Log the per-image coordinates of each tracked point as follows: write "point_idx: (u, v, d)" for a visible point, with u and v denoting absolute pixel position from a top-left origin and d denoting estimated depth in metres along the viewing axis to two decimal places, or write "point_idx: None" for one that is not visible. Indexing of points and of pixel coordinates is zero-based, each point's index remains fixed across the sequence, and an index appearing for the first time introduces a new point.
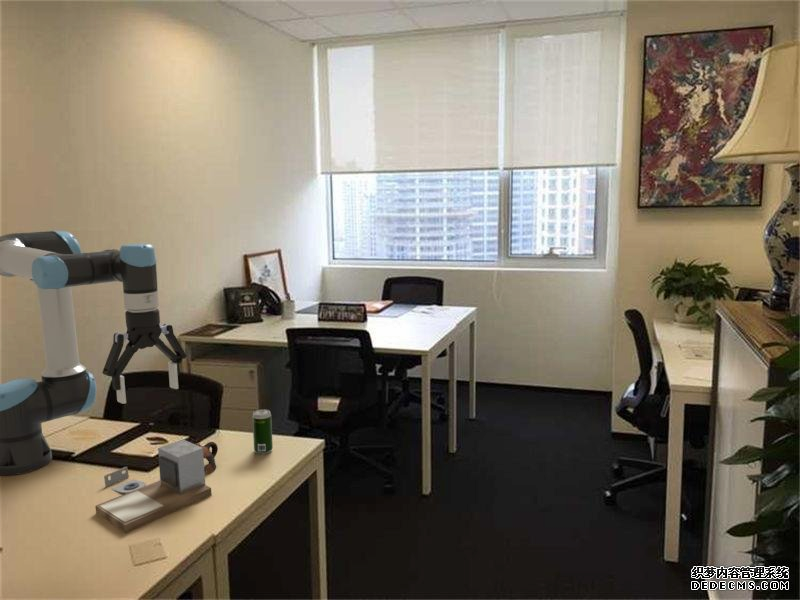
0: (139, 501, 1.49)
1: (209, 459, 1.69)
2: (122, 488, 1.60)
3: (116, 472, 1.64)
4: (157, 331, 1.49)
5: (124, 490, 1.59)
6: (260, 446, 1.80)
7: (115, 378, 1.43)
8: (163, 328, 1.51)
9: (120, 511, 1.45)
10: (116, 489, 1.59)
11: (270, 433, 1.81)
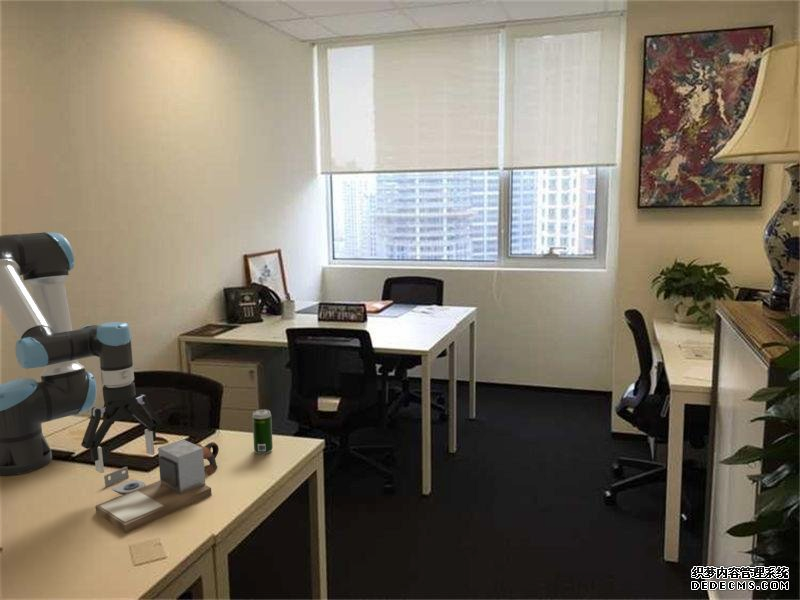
0: (139, 501, 1.49)
1: (210, 460, 1.69)
2: (122, 488, 1.60)
3: (116, 472, 1.64)
4: (133, 403, 1.60)
5: (124, 490, 1.59)
6: (260, 446, 1.80)
7: (93, 450, 1.53)
8: (139, 399, 1.61)
9: (120, 511, 1.45)
10: (116, 489, 1.59)
11: (270, 433, 1.81)
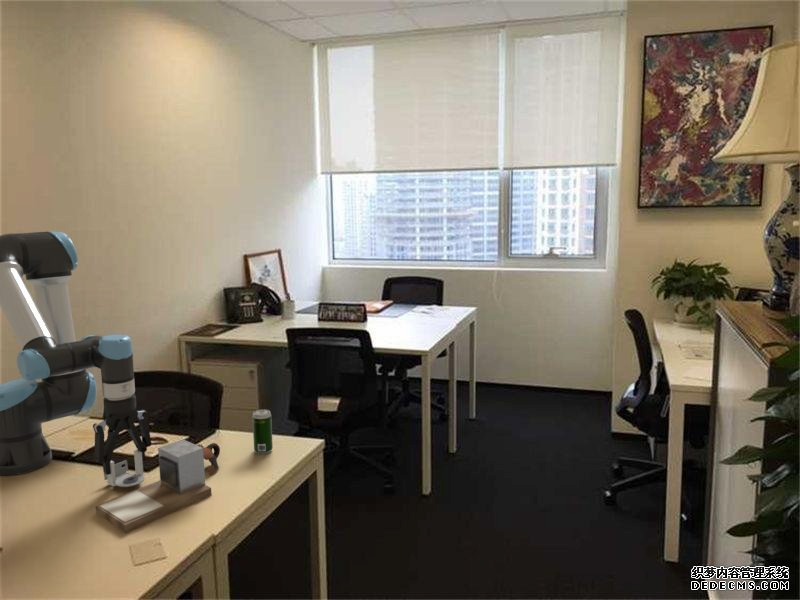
0: (139, 501, 1.49)
1: (212, 460, 1.68)
2: (121, 482, 1.60)
3: (115, 465, 1.64)
4: (133, 414, 1.60)
5: (123, 483, 1.59)
6: (260, 446, 1.80)
7: (106, 464, 1.57)
8: (139, 413, 1.62)
9: (120, 511, 1.45)
10: None
11: (270, 433, 1.81)
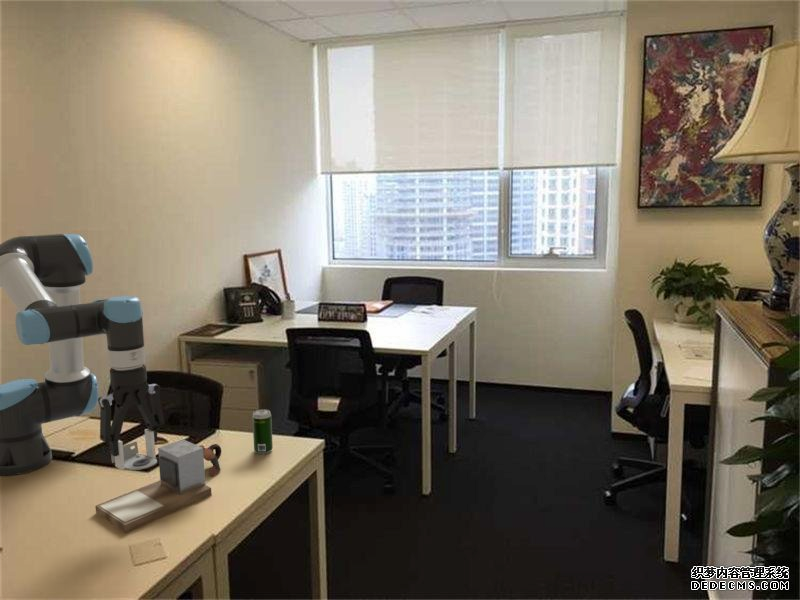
0: (139, 501, 1.49)
1: (213, 461, 1.68)
2: (131, 465, 1.41)
3: (124, 447, 1.44)
4: (144, 387, 1.41)
5: (133, 466, 1.40)
6: (260, 446, 1.80)
7: (113, 444, 1.37)
8: (151, 387, 1.43)
9: (120, 511, 1.45)
10: None
11: (270, 433, 1.81)
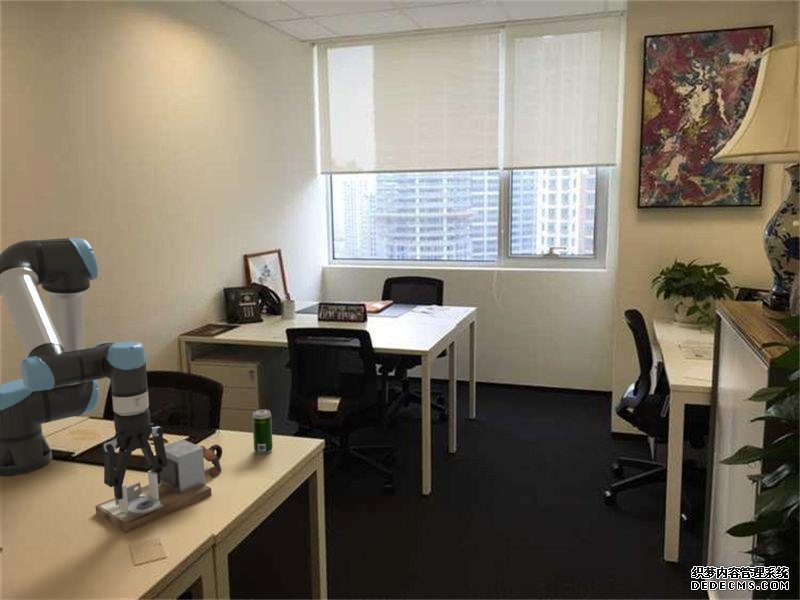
0: None
1: (214, 462, 1.67)
2: (134, 507, 1.43)
3: (128, 489, 1.46)
4: (147, 431, 1.43)
5: (136, 509, 1.41)
6: (260, 446, 1.80)
7: (117, 488, 1.39)
8: (154, 429, 1.45)
9: (120, 511, 1.45)
10: (128, 508, 1.42)
11: (270, 433, 1.81)
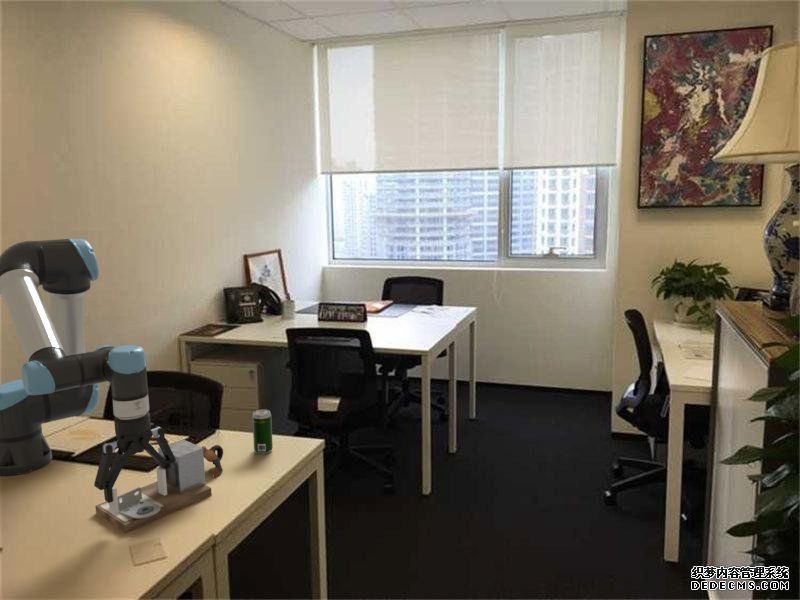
0: None
1: (216, 463, 1.67)
2: (135, 512, 1.43)
3: (128, 493, 1.47)
4: (148, 435, 1.43)
5: (137, 514, 1.42)
6: (260, 446, 1.80)
7: (107, 490, 1.37)
8: (154, 431, 1.45)
9: None
10: (128, 513, 1.42)
11: (270, 433, 1.81)
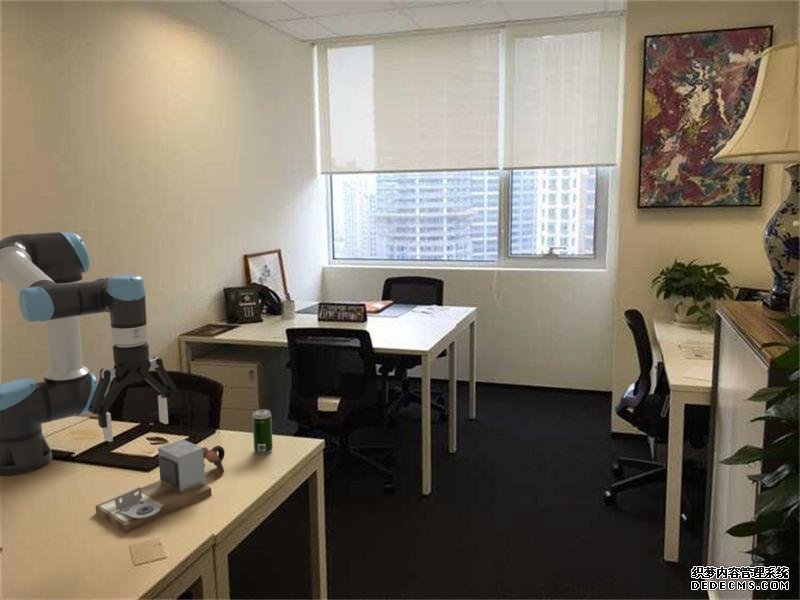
0: None
1: (217, 463, 1.66)
2: (135, 512, 1.43)
3: (128, 493, 1.47)
4: (146, 365, 1.44)
5: (137, 514, 1.42)
6: (260, 446, 1.80)
7: (101, 416, 1.37)
8: (152, 362, 1.45)
9: None
10: (128, 513, 1.42)
11: (270, 433, 1.81)
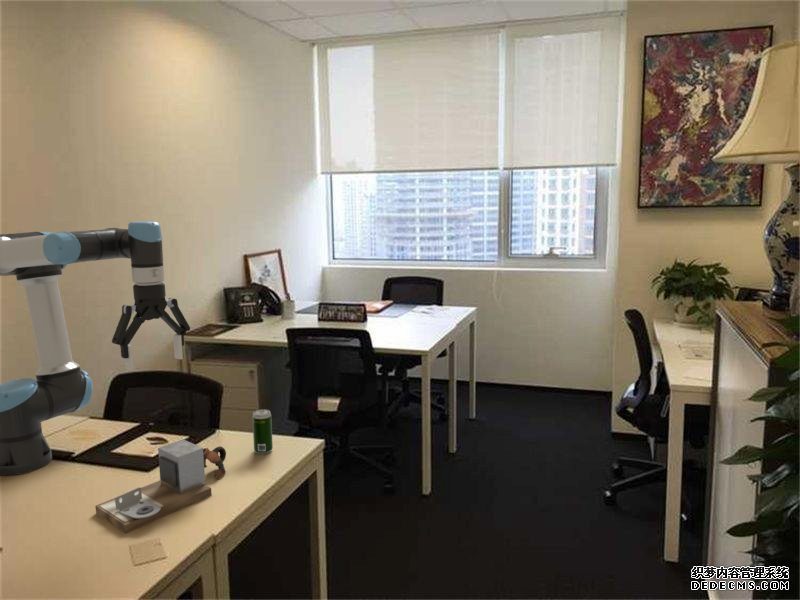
0: None
1: (219, 464, 1.66)
2: (135, 512, 1.43)
3: (128, 493, 1.47)
4: (163, 304, 1.59)
5: (137, 514, 1.42)
6: (260, 446, 1.80)
7: (124, 347, 1.52)
8: (168, 301, 1.61)
9: None
10: (128, 513, 1.42)
11: (270, 433, 1.81)
